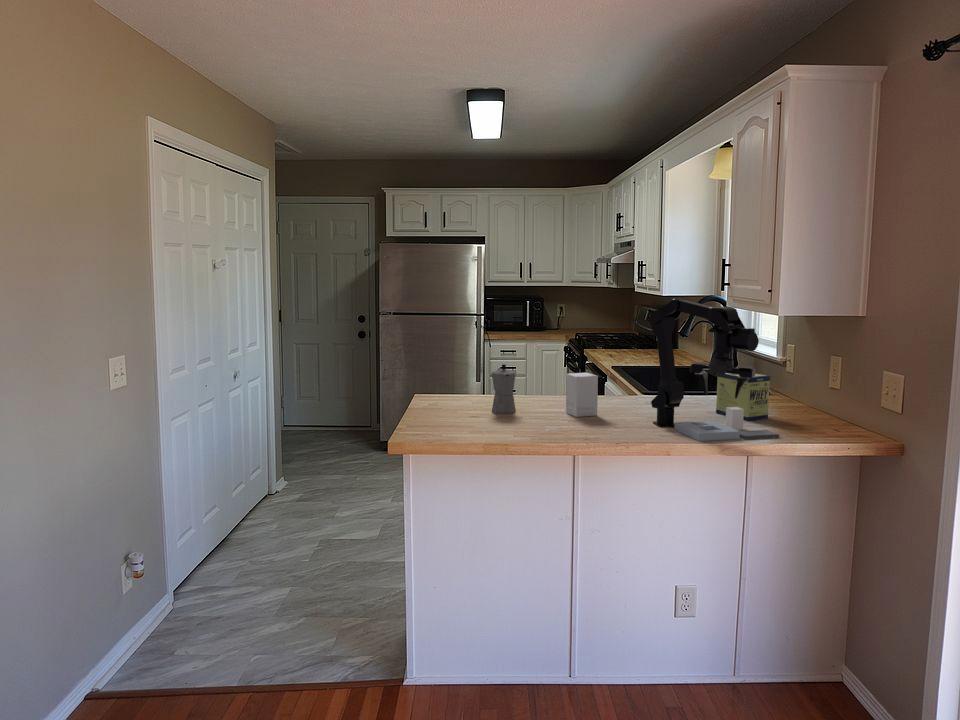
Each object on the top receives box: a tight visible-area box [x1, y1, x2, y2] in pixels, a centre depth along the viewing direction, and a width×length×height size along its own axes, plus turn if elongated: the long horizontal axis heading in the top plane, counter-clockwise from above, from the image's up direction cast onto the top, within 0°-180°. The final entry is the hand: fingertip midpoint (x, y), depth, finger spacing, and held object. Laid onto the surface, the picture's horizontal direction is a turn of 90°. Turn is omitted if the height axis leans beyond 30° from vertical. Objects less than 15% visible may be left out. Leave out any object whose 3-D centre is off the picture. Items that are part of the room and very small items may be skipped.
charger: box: [725, 407, 744, 431], centre depth 231 cm, size 4×4×7 cm
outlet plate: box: [674, 420, 741, 442], centre depth 224 cm, size 16×14×2 cm
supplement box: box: [565, 372, 599, 418], centre depth 254 cm, size 9×9×15 cm
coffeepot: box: [491, 364, 517, 415], centre depth 261 cm, size 15×9×18 cm, turn 11°
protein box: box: [715, 373, 771, 422], centre depth 251 cm, size 10×16×16 cm
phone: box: [739, 429, 780, 440], centre depth 221 cm, size 6×12×1 cm, turn 101°
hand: (720, 396), depth 217 cm, fingers open, 9 cm apart
